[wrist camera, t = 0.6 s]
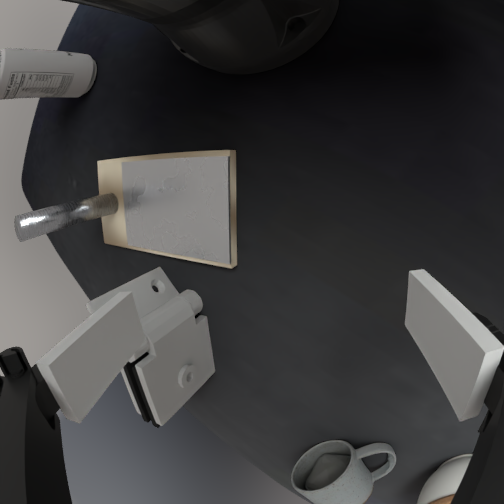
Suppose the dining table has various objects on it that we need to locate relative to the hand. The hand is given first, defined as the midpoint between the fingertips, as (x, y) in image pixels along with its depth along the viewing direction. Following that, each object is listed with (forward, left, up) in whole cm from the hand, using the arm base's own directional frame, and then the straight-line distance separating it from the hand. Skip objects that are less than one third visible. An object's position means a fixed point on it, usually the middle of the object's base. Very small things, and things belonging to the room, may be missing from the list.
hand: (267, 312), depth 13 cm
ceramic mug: (+25, +7, -12) cm, 28 cm away
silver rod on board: (-2, -16, -10) cm, 19 cm away
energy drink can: (-19, -30, -11) cm, 38 cm away
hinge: (+11, -14, -11) cm, 21 cm away
